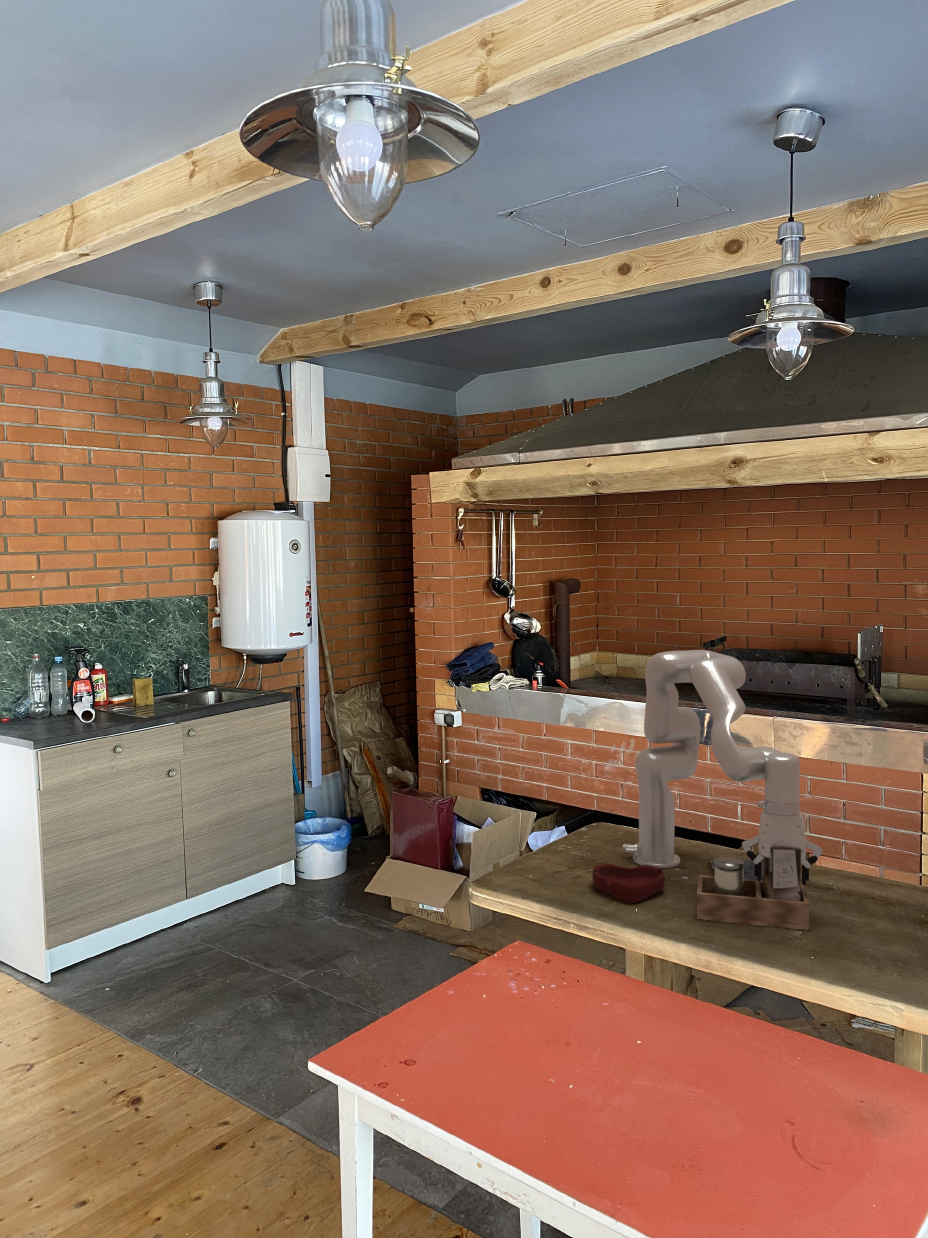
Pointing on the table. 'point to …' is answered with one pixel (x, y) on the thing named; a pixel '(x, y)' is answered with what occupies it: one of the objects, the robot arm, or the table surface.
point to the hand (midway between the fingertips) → (781, 881)
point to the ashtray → (628, 881)
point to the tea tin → (729, 876)
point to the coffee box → (782, 874)
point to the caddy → (751, 906)
